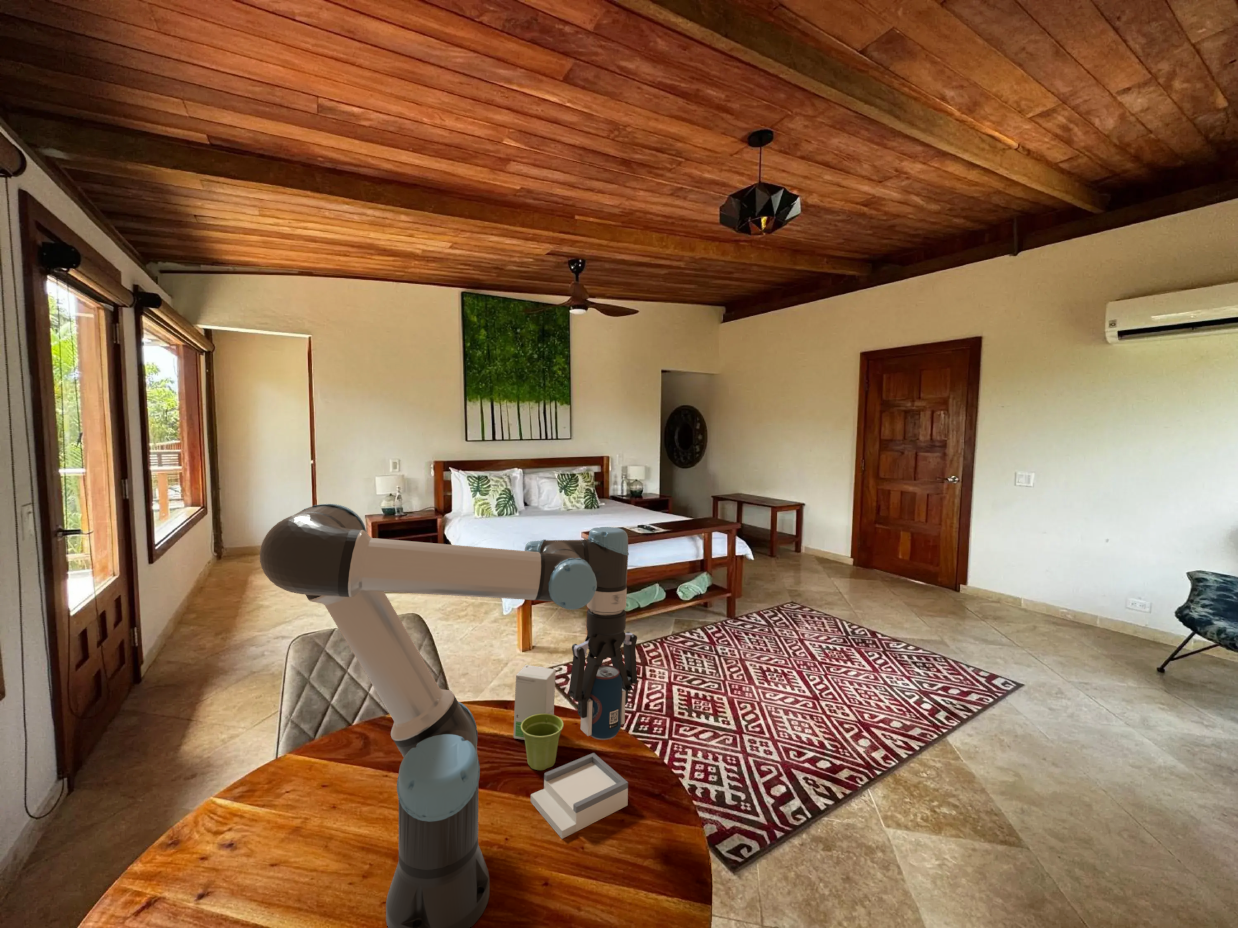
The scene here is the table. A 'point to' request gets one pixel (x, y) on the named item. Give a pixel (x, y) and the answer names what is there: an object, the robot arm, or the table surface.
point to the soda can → (606, 703)
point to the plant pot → (541, 739)
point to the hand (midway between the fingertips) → (602, 726)
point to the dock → (580, 794)
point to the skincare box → (533, 694)
